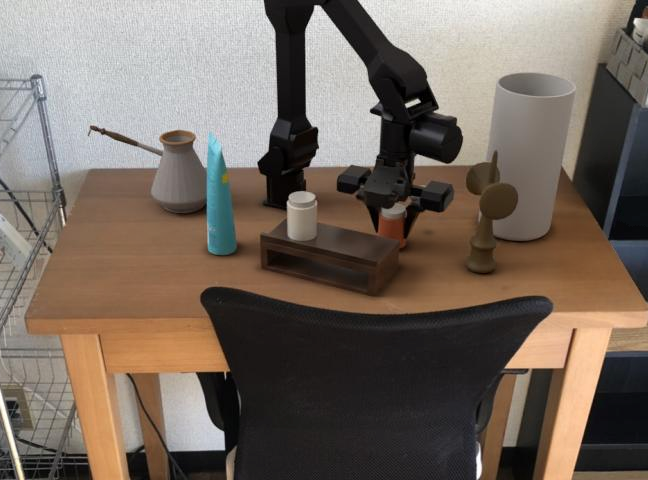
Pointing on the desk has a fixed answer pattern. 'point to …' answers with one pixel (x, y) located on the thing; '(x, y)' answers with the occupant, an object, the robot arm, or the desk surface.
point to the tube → (219, 202)
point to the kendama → (488, 211)
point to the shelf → (332, 257)
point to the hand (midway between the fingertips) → (391, 235)
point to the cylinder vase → (530, 147)
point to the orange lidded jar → (393, 223)
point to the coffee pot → (174, 171)
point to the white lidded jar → (302, 216)
